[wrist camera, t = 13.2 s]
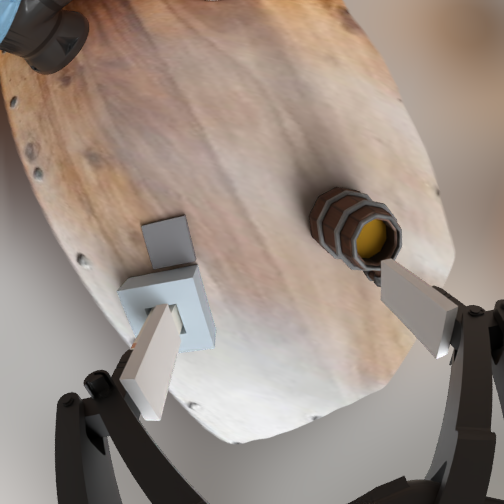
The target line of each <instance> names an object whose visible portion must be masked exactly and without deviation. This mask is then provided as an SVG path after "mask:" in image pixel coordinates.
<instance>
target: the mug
mask: <svg viewBox="0 0 504 504" xmlns="http://www.w3.org/2000/svg"><path fill="white" fill-rule="evenodd" d="M309 219H310V226H311V232H312V237H313V238H314V239H315V240H316V241H317V242H318V243H319V244H320V245H321V246H322V247H323V248H324V249H325V250H326V251H327V252H328V253H330V254H331V255H332V256H333V257H334V258H335V259H342V260H343V261H344V262H345V263H346V265H347V266H348V267H349V268H350V269H352V270H363V272H364V274H365V275H366V276H367V278H368V279H369V280H370V281H374V283H375V284H376V285H377V286H378V287H381V261H382V260H386V259H393V260H394V261H395V259H396V257H397V255H398V253H399V251H400V249H401V247H402V229H401V227H400V226H399V224H398V223H397V219H396V218H395V217H394V215H393V214H392V213H391V211H390V210H389V209H388V207H387V206H386V205H385V204H383V203H379V202H374V201H372V200H371V198H370V197H369V196H368V195H367V194H363V193H360V192H359V191H356V190H350V189H345V188H339V187H336V188H334V189H332V190H330V191H328V192H326V193H325V194H323V195H321V196H319V197H318V199H317V201H316V203H315V205H314V207H313V209H312V211H311V213H310V215H309Z"/></svg>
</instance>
